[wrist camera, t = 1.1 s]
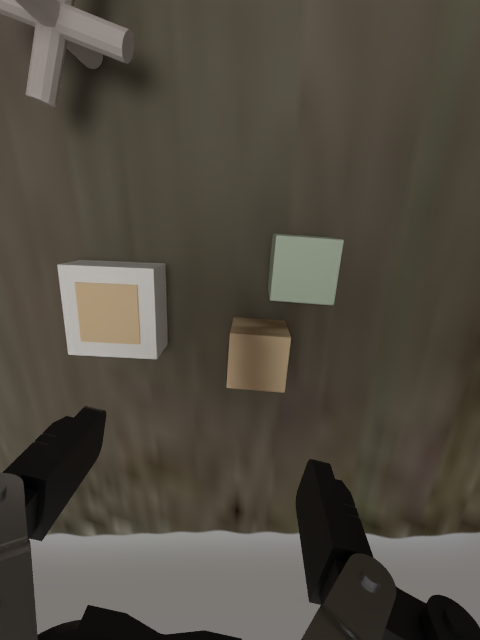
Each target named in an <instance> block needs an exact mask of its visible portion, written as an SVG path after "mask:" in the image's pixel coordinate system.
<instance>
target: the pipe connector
mask: <svg viewBox="0 0 480 640" xmlns="http://www.w3.org/2000/svg"><path fill="white" fill-rule="evenodd" d="M73 6H74V0H0V13H1V14H3V15H6V16H8V17H11V18H13V19H16V20H18V21H21V22H23V23H26V24H28V25H31V26H33V27H35V32H34V39H33V47H32V54H31V61H30V68H29V75H28V82H27V89H26V96H28V97H30V98H32V99H34V100H36V101H38V102H40V103H42V104H45V105H47V106H50V107H52V108H57V102H58V96H59V90H60V84H61V78H62V72H63V66H64V60H65V54H66V48H67V49H68V50H69V51H70V52H71V53H72V54H73V55H74V56H75V57H76V58H77V59H79V60H80V61H81V62H82V63H83V64H84V65H85V66H86V67H88V68H89V69H96V68H98V67H99V66H100V65H101V64H102V61H103V54H104V55H106V56H109V57H111V58H114V59H116V60H119V61H121V62H124V63H126V64H129V63H130V61H131V59H132V57H133V52H134V36H133V34H132V31H131V30H129V29H127V28H124V27H122V26H119V25H117V24H114V23H112V22H109V21H107V20H104V19H102V18H99V17H97V16H94V15H92V14H90V13H87V12H85V11H82V10H80V9H77V8H75V7H73Z"/></svg>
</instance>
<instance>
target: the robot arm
mask: <svg viewBox="0 0 480 640" xmlns="http://www.w3.org/2000/svg"><path fill="white" fill-rule="evenodd" d="M105 420H106V411H105V410H101V409H97V408H92V407H88V406H85V407H84V408H83V409H82V410H81V411H80V412H79V413H78V414H77V415H76V416H75V417H74V418H73V417H68V416H66V417H64V418H62V419H60V420H58V421H56V422H54V423H52V424H51V425H50V426H49V427H48V428H47V429H46V430H45V431H44V432H43V434H42V435H40V436H39V437H38V438H37V439H36V440H35V442H34V443H32V444H31V445H30V446H29V447H28V448H27V449H26V450H25V451H24V452H23V453H22V454H21V455H20V456H19V457H18V458H17V459H16V460H15V461H14V462H13V463H12V464H11V465H10V466H9V467H8V468H7V469H6V470H5V471H4V472H3V473H0V640H242V639H241V638H236V637H232V636H227V635H222V634H218V633H213V632H209V631H195V632H186V633H176V634H168V635H164V634H160V633H158V632H156V631H155V630H153V629H151V628H150V627H148V626H146V625H145V624H143V623H141V622H140V621H138V620H136V619H134V618H133V617H131V616H129V615H128V614H126V613H122V612H117V611H113V610H109V609H104V608H99V607H94V606H90V605H88V606H87V608H86V610H85V613H84V615H83V617H82V619H81V620H76V621H71V622H67V623H63V624H60V625H58V626H55V627H52V628H50V629H48V630H46V631H44V632H42V633H40V634H39V635H37V624H36V611H35V598H34V584H33V571H32V559H31V548H30V547H31V546H30V541H29V539H35V540H39V541H42V540H43V538H44V537H45V536H46V534H47V533H48V531H49V530H50V528H51V527H52V525H53V524H54V522H55V521H56V519H57V518H58V516H59V515H60V513H61V512H62V510H63V509H64V507H65V506H66V504H67V503H68V501H69V500H70V498H71V497H72V495H73V494H74V492H75V491H76V490H77V488H78V487H79V485H80V484H81V482H82V481H83V479H84V478H85V476H86V475H87V473H88V472H89V470H90V469H91V467H92V466H93V464H94V463H95V461H96V460H97V458H98V456H99V453H100V451H101V447H102V443H103V435H104V428H105ZM296 512H297V519H298V526H299V533H300V540H301V547H302V554H303V562H304V569H305V575H306V583H307V589H308V597H309V602H311V603H315V604H320V605H321V606H320V608H319V609H318V611H317V613H316V614H315V616H314V618H313V620H312V622H311V623H310V625H309V627H308V629H307V630H306V632H305V634H304V636H303V638H302V639H301V640H480V628H479V626H478V624H477V623H476V621H475V620H474V619H473V618H472V617H471V615H470V614H469V613H468V612H467V611H466V610H465V609H464V608H463V607H461V606H460V605H459V604H458V603H456V602H455V601H453V600H452V599H449V598H448V597H445V596H442V595H434V596H431V597H430V598H429V600H428V602H427V603H424V602H422V601H420V600H419V599H417V598H415V597H413V596H411V595H409V594H408V593H406V592H404V591H402V590H400V589H399V588H397V587H396V586H395V583H394V581H393V578H392V577H391V575H390V573H389V572H388V571H387V569H386V568H385V567H384V566H383V565H382V564H381V563H380V562H378V561H377V560H376V559H374V558H373V555H372V552H371V549H370V546H369V543H368V541H367V538H366V535H365V532H364V529H363V526H362V523H361V521H360V519H359V515H358V512H357V509H356V508H355V503H354V501H353V498H352V495H351V492H350V491H349V490H348V488H347V487H346V486H345V484H344V483H343V482H342V481H341V480H337V479H335V477H334V474H333V471H332V468H331V465H330V464H329V463H325V462H321V461H317V460H313V459H310V460H309V461H308V463H307V465H306V468H305V471H304V474H303V476H302V479H301V482H300V485H299V487H298V491H297V495H296Z"/></svg>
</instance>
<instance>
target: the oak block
mask: <svg viewBox="0 0 480 640" xmlns="http://www.w3.org/2000/svg"><path fill="white" fill-rule="evenodd" d="M290 343H291V336H290V333H289V330H288V327H287V324H286V321H283V320H270V319H257V318H244V317H233V322H232V326H231V331H230V340H229V356H228V372H227V388H233V389H246V390H258V391H270V392H282V393H285V385H286V376H287V368H288V360H289V351H290Z"/></svg>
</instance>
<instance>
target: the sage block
mask: <svg viewBox="0 0 480 640" xmlns="http://www.w3.org/2000/svg"><path fill="white" fill-rule="evenodd" d="M343 242H344V240H341V239H336V238H331V237H320V236H306V235H292V234H278V233H273V236H272V247H271V258H270V268H269V279H268V293H269V297H270V300H271V301H284V302H298V303H311V304H324V305H334V300H335V293H336V287H337V280H338V274H339V267H340V261H341V254H342V248H343Z"/></svg>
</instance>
